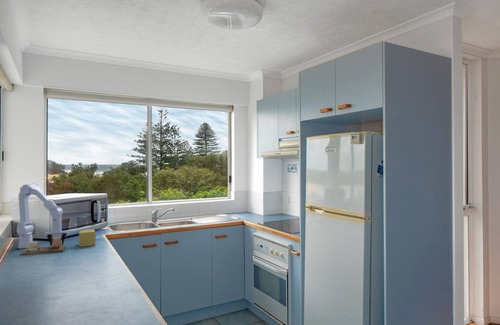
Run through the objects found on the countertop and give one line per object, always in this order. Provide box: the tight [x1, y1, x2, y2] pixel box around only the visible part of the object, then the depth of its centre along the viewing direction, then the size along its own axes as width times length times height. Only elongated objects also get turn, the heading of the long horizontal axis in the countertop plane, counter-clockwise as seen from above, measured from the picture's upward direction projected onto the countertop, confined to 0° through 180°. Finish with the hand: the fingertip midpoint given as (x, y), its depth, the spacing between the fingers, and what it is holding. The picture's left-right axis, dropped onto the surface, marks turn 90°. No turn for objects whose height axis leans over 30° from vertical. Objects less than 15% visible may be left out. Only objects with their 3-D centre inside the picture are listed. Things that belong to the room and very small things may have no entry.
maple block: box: [29, 240, 39, 251], centre depth 227 cm, size 4×4×6 cm
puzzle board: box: [20, 245, 67, 256], centre depth 229 cm, size 11×24×2 cm, turn 109°
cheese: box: [78, 228, 97, 248], centre depth 248 cm, size 10×11×10 cm
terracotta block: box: [52, 236, 62, 247], centre depth 240 cm, size 4×4×6 cm
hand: (57, 245), depth 240 cm, fingers open, 6 cm apart
